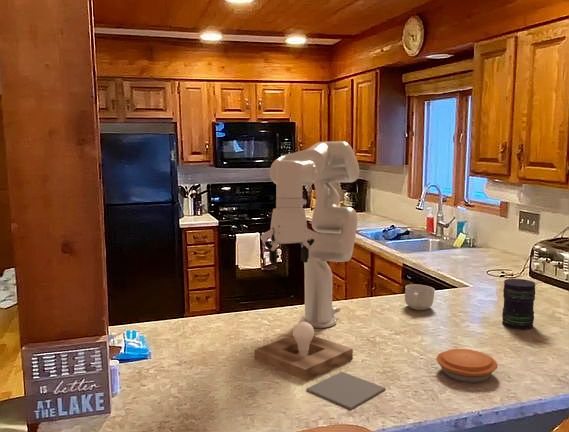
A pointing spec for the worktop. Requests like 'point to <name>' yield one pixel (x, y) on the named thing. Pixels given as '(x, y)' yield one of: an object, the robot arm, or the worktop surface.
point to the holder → (304, 368)
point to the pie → (466, 365)
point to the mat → (346, 390)
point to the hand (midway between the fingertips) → (289, 262)
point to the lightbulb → (303, 337)
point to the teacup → (419, 296)
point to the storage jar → (518, 304)
